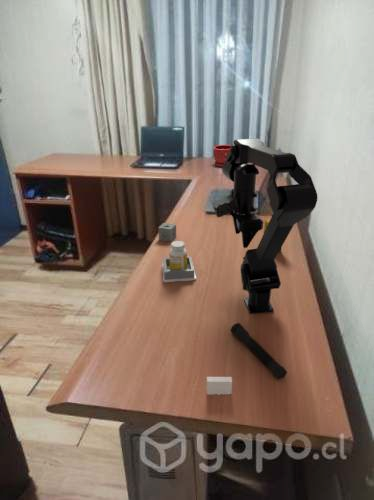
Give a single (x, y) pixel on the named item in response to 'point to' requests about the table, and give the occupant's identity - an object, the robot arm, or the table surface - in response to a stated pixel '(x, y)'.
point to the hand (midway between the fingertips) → (241, 240)
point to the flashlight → (258, 351)
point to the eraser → (219, 385)
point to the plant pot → (220, 154)
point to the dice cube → (167, 231)
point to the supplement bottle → (178, 256)
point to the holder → (178, 271)
